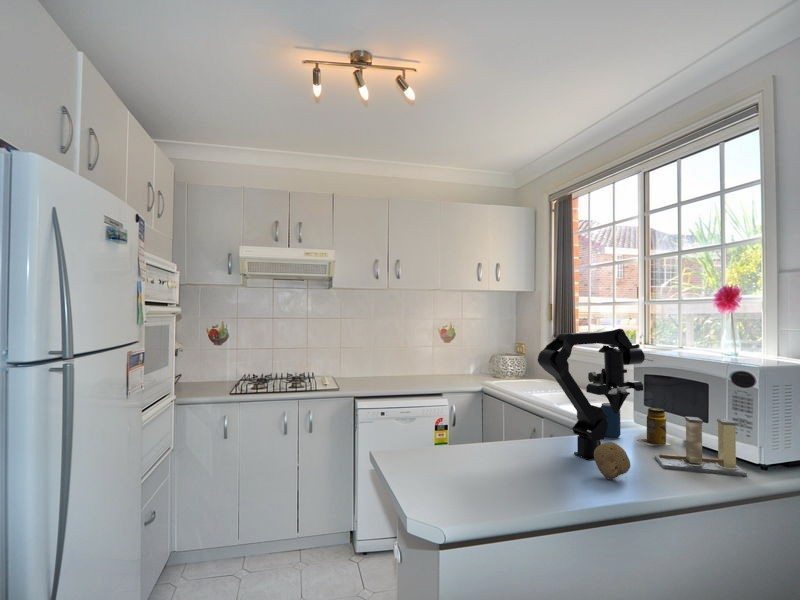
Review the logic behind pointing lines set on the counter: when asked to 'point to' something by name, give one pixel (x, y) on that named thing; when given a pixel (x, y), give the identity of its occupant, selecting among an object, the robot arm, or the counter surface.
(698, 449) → the post
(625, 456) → the natural sponge
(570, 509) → the counter surface
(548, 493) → the counter surface
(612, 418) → the soda can
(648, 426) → the condiment
